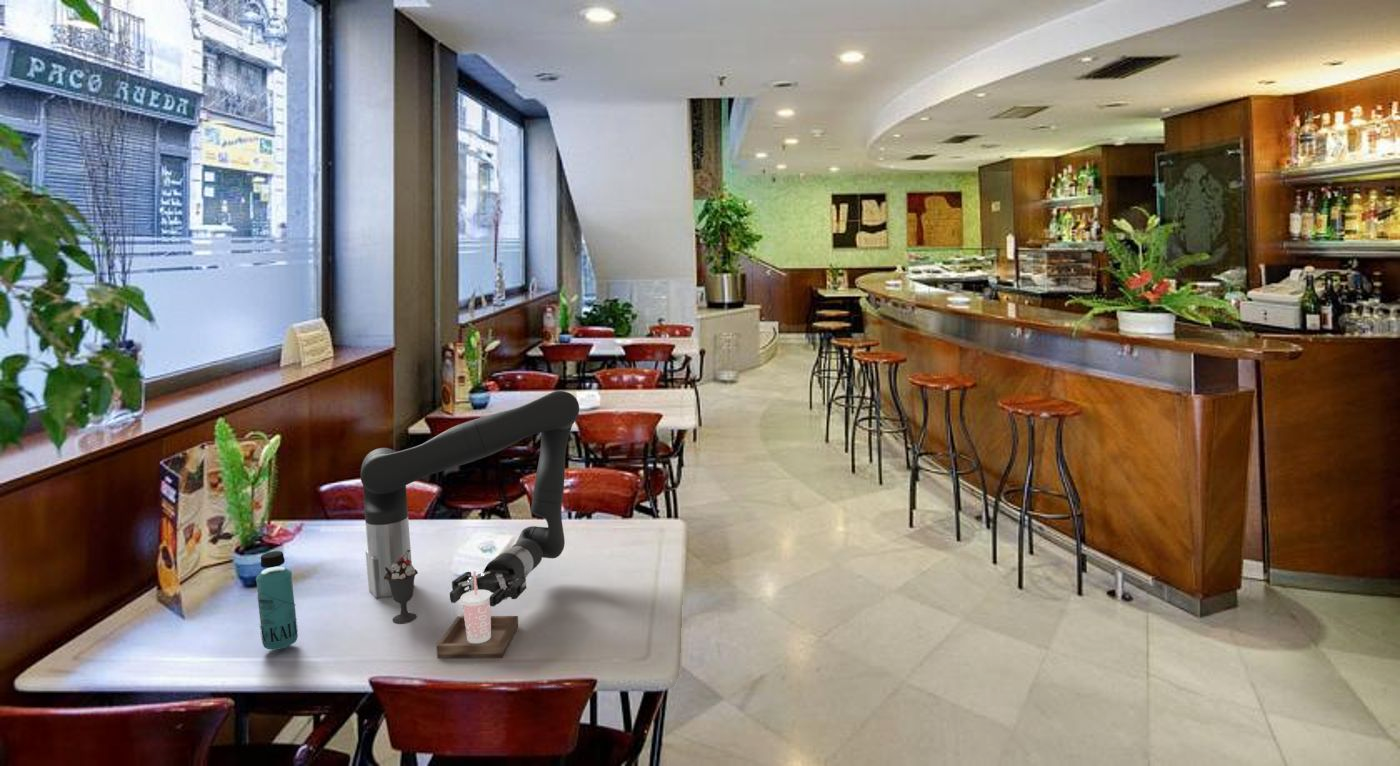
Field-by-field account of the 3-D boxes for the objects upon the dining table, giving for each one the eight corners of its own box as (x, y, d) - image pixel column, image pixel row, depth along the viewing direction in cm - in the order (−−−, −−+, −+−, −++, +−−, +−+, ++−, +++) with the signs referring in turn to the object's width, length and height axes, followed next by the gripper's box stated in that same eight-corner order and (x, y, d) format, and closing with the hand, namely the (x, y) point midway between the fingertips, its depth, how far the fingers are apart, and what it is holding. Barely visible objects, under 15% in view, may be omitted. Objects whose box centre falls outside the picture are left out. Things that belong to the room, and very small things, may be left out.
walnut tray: (437, 658, 153) (436, 645, 153) (458, 628, 166) (457, 616, 165) (502, 657, 153) (501, 645, 153) (518, 627, 165) (517, 615, 165)
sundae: (427, 613, 173) (422, 547, 170) (407, 627, 166) (401, 559, 164) (402, 609, 175) (397, 544, 173) (381, 623, 169) (375, 555, 166)
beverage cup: (467, 648, 155) (462, 580, 153) (460, 635, 161) (455, 569, 158) (498, 640, 158) (493, 573, 156) (490, 628, 164) (486, 563, 161)
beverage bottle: (271, 642, 161) (261, 548, 158) (305, 640, 161) (295, 546, 158) (256, 658, 154) (245, 560, 151) (292, 656, 155) (281, 558, 152)
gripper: (478, 549, 173) (437, 579, 157) (539, 554, 169) (503, 585, 154) (480, 582, 174) (440, 615, 158) (541, 587, 171) (505, 621, 155)
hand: (471, 600), depth 156 cm, fingers open, 8 cm apart
